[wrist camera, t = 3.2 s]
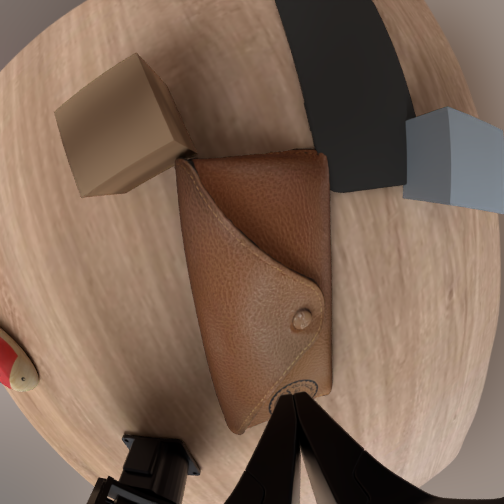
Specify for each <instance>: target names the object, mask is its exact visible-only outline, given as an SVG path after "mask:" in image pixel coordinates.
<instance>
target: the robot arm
mask: <svg viewBox="0 0 504 504" xmlns="http://www.w3.org/2000/svg"><path fill="white" fill-rule="evenodd" d="M122 440H123V442H124V443H125V445H126V446H127V447H128V449H129V453H128V455H127V458H126V460H125V463H124V465H123V471H122V474H121V476H120V479H119V481H117V480H114V478H112V477H110V476H108V478H107V479H104V478H98V480H97V482H96V484H95V487H94V489H93V491H92V493H91V496H90V498H89V500H88V502H87V504H182V500H183V495H184V490H185V485H186V479H187V475H196V476H198V475H200V472H201V471H200V469H199V468H198V466H197V465H196V463H195V461H194V460H193V458H192V456H191V455H190V453H189V451H188V450H187V448H186V446H185V444H184V443H183V441H181V440H179V439H164V438H150V437H140V436H131V435H123V437H122ZM300 448H301V451H300ZM301 453H302V457H303V460H304V463H305V467H306V470H307V473H308V476H309V479H310V483H311V486H312V489H313V492H314V495H315V499H316V502H317V504H504V497H502V498H497V499H452V498H442V497H437V496H434V495H431V494H428V493H427V492H425V491H423V490H421V489H419V488H418V487H416V486H414V485H413V484H411V483H409V482H408V481H406V480H404V479H403V478H401V477H399V476H398V475H396V474H395V473H393V472H392V471H390V470H389V469H387V468H386V467H385V466H383V465H382V464H381V463H380V462H378V461H377V460H376V459H375V458H374V457H373V456H371V455H370V454H369V453H368V452H367V451H366V450H364V448H363V447H362V446H361V445H359V444H358V443H357V442H356V441H355V440H354V439H353V438H352V437H351V436H350V435H349V434H348V433H347V432H346V431H345V430H344V429H343V428H342V427H341V426H340V425H339V424H338V423H337V422H336V421H335V420H334V419H333V418H332V417H331V416H330V415H329V414H328V413H327V412H326V411H325V410H324V409H323V408H322V407H321V406H320V405H319V404H318V403H317V402H316V401H315V400H314V399H313V398H312V397H311V396H310V395H309V394H308V393H307V392H305V391H302V392H297V393H294V394H284V395H280V397H279V399H278V401H277V403H276V406H275V408H274V410H273V412H272V415H271V417H270V419H269V421H268V423H267V426H266V428H265V430H264V432H263V434H262V436H261V439H260V441H259V443H258V445H257V447H256V449H255V451H254V453H253V455H252V457H251V459H250V461H249V463H248V465H247V467H246V469H245V470H246V471H244V472H243V474H242V476H241V478H240V480H239V482H238V483H237V485H236V487H235V489H234V490H233V492H232V493H231V495H230V496H229V497H228V499H227V500H226V502H225V503H224V504H300V474H301ZM107 496H109V497H111V498H113V499H115V500H114V501H112V500H110V499H108V498H107Z"/></svg>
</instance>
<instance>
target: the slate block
mask: <svg viewBox="0 0 504 504" xmlns="http://www.w3.org/2000/svg"><path fill="white" fill-rule="evenodd" d="M406 139H407V184H406V185H403V198H404V199H412V200H419V201H427V202H433V203H440V204H446V205H453V206H459V207H466V208H472V209H478V210H484V211H489V212H495V213H500V214H504V138H503V131H502V130H501V129H499V128H497V127H494V126H492V125H490V124H488V123H486V122H484V121H482V120H480V119H477V118H475V117H473V116H471V115H468V114H466V113H463V112H461V111H458V110H456V109H453V108H451V107H448V106H447V107H444V108H441V109H438V110H435V111H432V112H429V113H426V114H424V115H421V116H418V117H415V118H412V119H410V120H407V121H406Z"/></svg>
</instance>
